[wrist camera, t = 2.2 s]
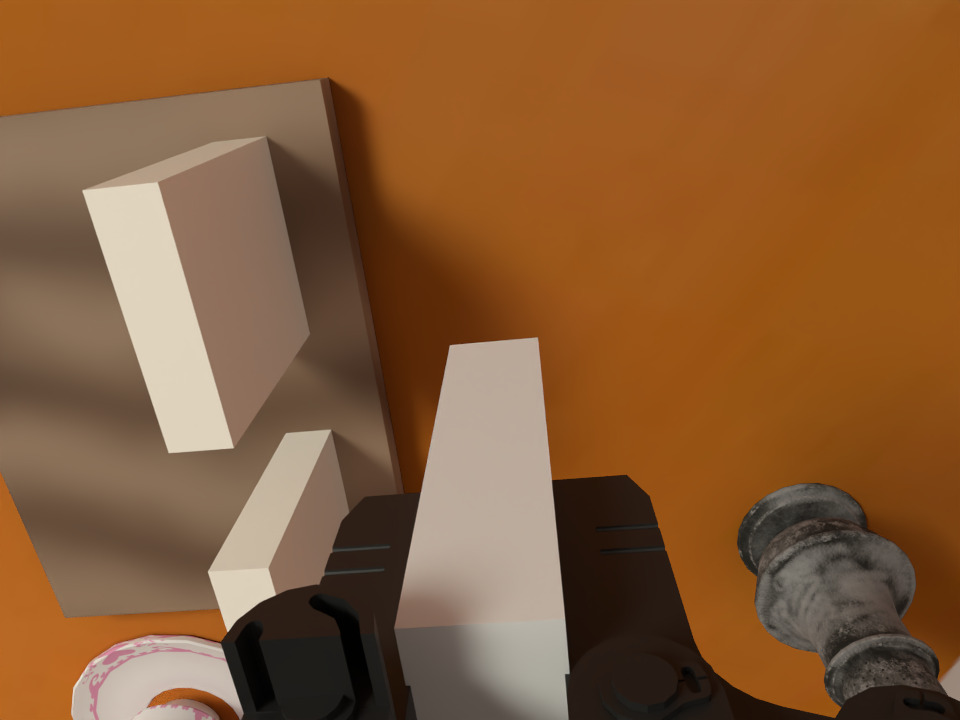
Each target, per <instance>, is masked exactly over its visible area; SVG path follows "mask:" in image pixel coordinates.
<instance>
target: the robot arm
mask: <svg viewBox="0 0 960 720" xmlns="http://www.w3.org/2000/svg"><path fill="white" fill-rule="evenodd" d="M332 549H333V551H332V553H330V555H329V558H328V561H327V564H326V567H325V570H324V572H325V574H324V576H322V578H321V581H320V584H319V585H318V584H315V585H310V586H305V587H300V588H295V589H290V590H286V591H284V592H282V593H280V594H277V595H275V596H273V597H271V598H268V599H266V600H264V601H262V602H260V603H258V604H257V605H256V606H255V607H253V608H252V609H251V610H249V611H248V612H247V613H246V614H244V615H243V616H242V617H240V618H239V619H238V620H237V621H236V622H235V623H234V625H233V626H232V627H231V629H230V630H229V632H228V633H227V634H226V636H225V637H224V638H223V640H222V641H221V646H222V649H223V652H224V655H225V658H226V661H227V664H228V667H229V670H230V674H231V677H232V680H233V683H234V686H235V689H236V692H237V695H238V698H239V701H240V704H241V707H242V710H243V713H244V714H243V716H242V719H241V720H960V701H958V700H956V699H953V698H951V697H949V696H947V695H945V694H943V693H940V692H937V691H932V690H927V689H922V688H917V687H912V686H907V685H892V686H879V687H870V688H868V689H866V690H864V691H862V692H860V693H858V694H856V695H854V696H852V697H851V698H849V699H847V700H846V701H845V703H844V705H843V706H842V708H841V710H840V711H839V713H838V714H837V716H836V718H832V717H827V716H823V715H818V714H814V713H809V712H805V711H800V710H796V709H791V708H787V707H782V706H779V705H775V704H772V703H769V702H766V701H763V700H759V699H756V698H754V697H752V696H750V695H748V694H746V693H744V692H743V691H741V690H739V689H737V688H735V687H733V686H732V685H730V684H729V683H728V682H727V681H725V680H724V679H723V678H721V677H720V676H719V675H718V674H716V673H715V672H714V670H713V669H712V667H711V665H709V664H708V663H707V662H706V661H705V660H704V659H703V658H702V656H701V654H700V652H699V650H698V648H697V646H696V644H695V642H694V639H693V636H692V632H691V629H690V626H689V623H688V619H687V616H686V613H685V610H684V606H683V603H682V600H681V597H680V594H679V590H678V587H677V584H676V581H675V577H674V574H673V571H672V568H671V564H670V561H669V558H668V555H667V552H666V551H665V545H664V542H663V539H662V535H661V532H660V529H659V528H658V522H657V519H656V516H655V513H654V509H653V506H652V503H651V500H650V497H649V495H648V494H647V493H645V492H644V491H643V490H642V489H641V488H640V487H639V486H638V485H637V484H636V483H635V482H634V481H633V480H631V479H630V478H629V477H628V476H627V475H618V476H605V477H591V478H577V479H563V480H552V478H551V468H550V458H549V447H548V437H547V427H546V416H545V406H544V396H543V385H542V375H541V365H540V355H539V344H538V337H537V338H526V339H515V340H503V341H492V342H481V343H469V344H458V345H450V348H449V353H448V358H447V363H446V368H445V373H444V378H443V383H442V388H441V393H440V399H439V404H438V409H437V414H436V419H435V424H434V429H433V434H432V439H431V444H430V449H429V454H428V460H427V465H426V470H425V475H424V480H423V485H422V490H421V493H408V494H394V495H380V496H366V497H364V498H363V499H362V500H361V501H360V502H359V503H358V504H357V505H356V506H355V507H354V508H353V509H352V510H351V511H350V513H349V514H348V515H347V516H346V517H345V518H344V519H343V520H342V521H341V524H340V527H339V530H338V533H337V536H336V538H335V541H334V544H333V547H332Z"/></svg>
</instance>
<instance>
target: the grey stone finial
mask: <svg viewBox="0 0 960 720" xmlns="http://www.w3.org/2000/svg"><path fill="white" fill-rule="evenodd" d="M737 545H738V549H739V554H740V557H741V559H742V560H743V562H744V564H745V565H746V567H747V568H748V569H749V570H750V571H751V572H752V573H753V574H755V575H756V576H757V584H756V594H755V606H756V610H757V615H758V618H759V620H760V621H761V623H762V624H763V626H764V627H765V629H766V630H767V632H769V633H770V634H771V635H772V636H773V637H775V638H776V639H777V640H778V641H780V642H782V643H784V644H786V645H789V646H791V647H793V648H795V649H800V650H805V651H810V652H815V653H818V654H819V656H820V658H821V660H822V662H823V664H824V666H825V668H826V672H825V677H824V683H825V688H826V691H827V693H828V694H829V696H830V697H831V699H832V700H833V701H834V702H835V703H836V704H838V705H839V706H840V707H842V706H843V705H844V703H845V701H846V700H847V699H849V698H851V697H852V696H854V695H856V694H858V693H860V692H862V691H864V690H866V689H868V688H870V687H879V686H892V685H907V686H912V687H917V688H922V689H927V690H932V691H937V692H940V693H943V694H945V695H947V693H946V692H945V690H944V689H943V688H942V686H941V684H940V683H939V681H938V680H937V678H938V674H939V671H940V670H939V661H938V659H937V657H936V655H935V653H934V651H933V650H932V649H931V648H930V647H929V646H928V645H927V644H925V643H924V642H923V641H921V640H919V639H916V638H914V637H912V636H911V634H910V633H909V631H908V630H907V628H906V627H905V625H904V624H903V622H902V621H901V619H902V618H903V616H904V615H905V613H906V611H907V610H908V608H909V606H910V605H911V603H912V601H913V597H914V592H915V588H916V579H915V571H914V568H913V566H912V564H911V562H910V560H909V558H908V556H907V555H906V554H905V553H904V552H903V551H902V550H901V549H900V548H899V547H898V546H897V545H896V544H895V543H894V542H892V541H890V540H888V539H886V538H884V537H881V536H879V535H877V534H876V533H874V532H872V531H870V530H868V529H867V524H866V517H865V515H864V513H863V511H862V509H861V507H860V505H859V504H858V503H857V502H856V501H855V500H854V499H853V498H852V497H851V496H850V495H849V494H848V493H846V492H844V491H842V490H840V489H838V488H836V487H833V486H828V485H823V484H819V483H809V484H797V485H793V486H789V487H784V488H782V489H779V490H777V491H775V492H773V493H771V494H769V495H767V496H766V497H764V498H763V499H762V500H760V501H759V502H758V503H756V504H755V505H754V506H753V507H752V509H751V510H750V511H749V512H748V513H747V515H746V516H745V517H744V519H743V522H742V524H741V526H740V528H739V531H738V541H737ZM947 696H948V695H947Z"/></svg>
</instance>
